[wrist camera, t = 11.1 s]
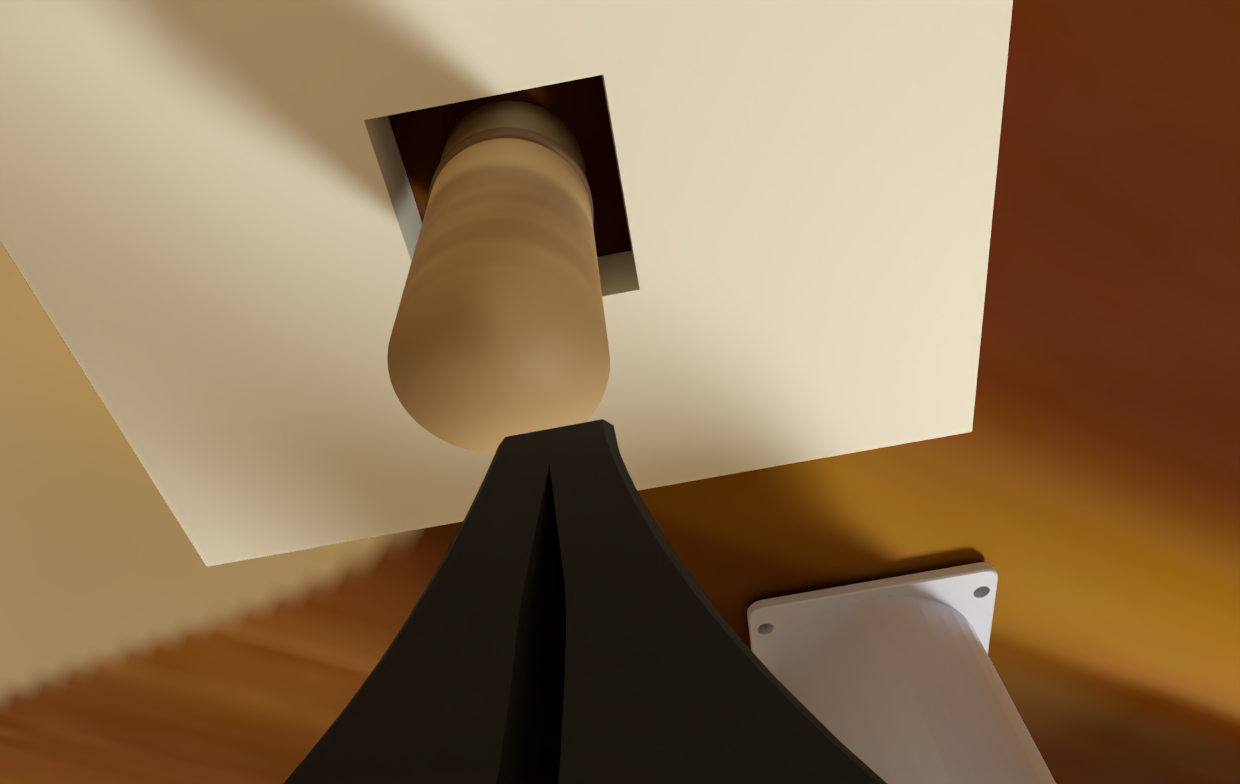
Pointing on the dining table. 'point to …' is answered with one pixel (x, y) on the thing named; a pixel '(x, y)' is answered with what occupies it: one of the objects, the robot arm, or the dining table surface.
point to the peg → (503, 286)
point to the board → (390, 226)
